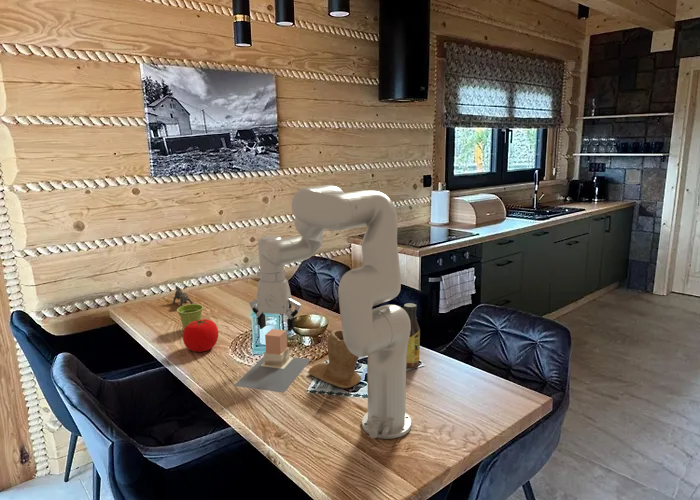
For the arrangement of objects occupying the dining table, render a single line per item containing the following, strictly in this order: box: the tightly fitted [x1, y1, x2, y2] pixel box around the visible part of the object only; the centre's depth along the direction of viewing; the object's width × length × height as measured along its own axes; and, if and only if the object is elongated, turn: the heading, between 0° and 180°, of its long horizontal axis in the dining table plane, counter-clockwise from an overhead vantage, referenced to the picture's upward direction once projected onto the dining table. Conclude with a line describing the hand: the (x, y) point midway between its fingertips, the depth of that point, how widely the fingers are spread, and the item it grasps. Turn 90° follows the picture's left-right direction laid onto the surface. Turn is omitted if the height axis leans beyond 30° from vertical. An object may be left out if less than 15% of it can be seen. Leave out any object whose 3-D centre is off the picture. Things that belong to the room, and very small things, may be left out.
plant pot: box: [176, 303, 204, 330], centre depth 189 cm, size 9×9×9 cm
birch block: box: [263, 346, 291, 367], centre depth 159 cm, size 6×6×4 cm
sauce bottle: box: [403, 302, 421, 369], centre depth 156 cm, size 7×6×20 cm
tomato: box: [182, 318, 219, 353], centre depth 172 cm, size 12×12×10 cm
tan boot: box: [307, 329, 362, 389], centre depth 148 cm, size 15×12×15 cm
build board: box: [233, 356, 312, 394], centre depth 153 cm, size 22×16×1 cm
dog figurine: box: [172, 286, 194, 308], centre depth 216 cm, size 12×6×7 cm, turn 39°
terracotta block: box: [264, 328, 288, 354], centre depth 158 cm, size 5×5×6 cm
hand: (276, 328), depth 156 cm, fingers open, 9 cm apart
